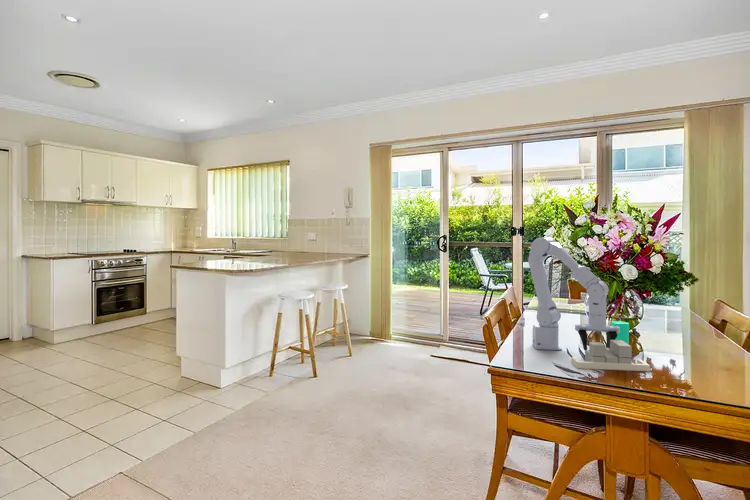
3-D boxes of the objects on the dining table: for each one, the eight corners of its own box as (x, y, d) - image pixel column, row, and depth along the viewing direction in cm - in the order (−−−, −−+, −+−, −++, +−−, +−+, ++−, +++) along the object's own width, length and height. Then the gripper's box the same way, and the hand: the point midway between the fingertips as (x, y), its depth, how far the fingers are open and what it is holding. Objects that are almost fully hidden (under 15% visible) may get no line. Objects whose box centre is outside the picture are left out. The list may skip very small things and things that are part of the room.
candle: (631, 351, 153) (632, 320, 152) (614, 350, 154) (614, 319, 154) (625, 346, 159) (625, 317, 158) (608, 346, 160) (609, 316, 159)
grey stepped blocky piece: (616, 358, 145) (616, 336, 144) (631, 369, 133) (632, 346, 133) (581, 357, 147) (581, 335, 147) (593, 368, 135) (593, 344, 135)
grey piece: (577, 368, 135) (577, 362, 135) (571, 362, 141) (571, 356, 141) (649, 371, 131) (650, 365, 131) (640, 365, 137) (640, 359, 137)
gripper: (615, 312, 148) (614, 348, 149) (573, 311, 152) (572, 346, 153) (622, 316, 142) (621, 354, 142) (577, 315, 145) (577, 351, 146)
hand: (596, 350), depth 147 cm, fingers open, 7 cm apart
